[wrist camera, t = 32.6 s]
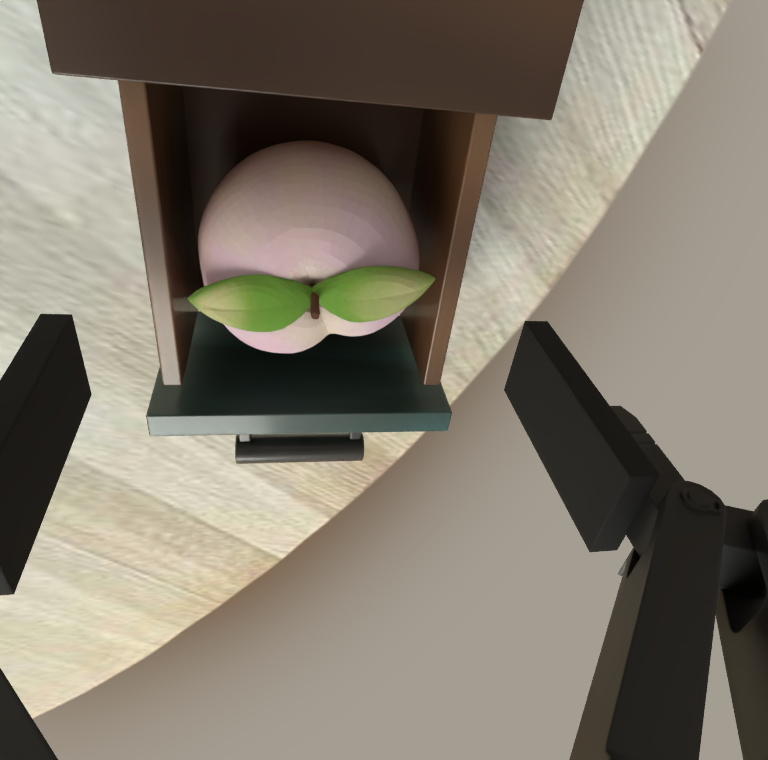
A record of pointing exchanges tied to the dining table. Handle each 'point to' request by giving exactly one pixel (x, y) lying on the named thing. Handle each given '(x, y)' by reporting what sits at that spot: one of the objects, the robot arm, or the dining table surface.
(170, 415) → the drawer
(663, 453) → the robot arm
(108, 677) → the dining table surface
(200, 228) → the decorative fruit
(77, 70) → the cabinet
